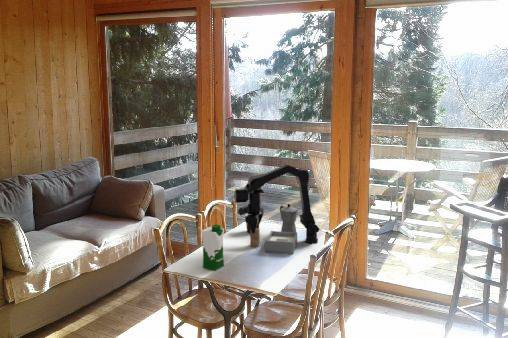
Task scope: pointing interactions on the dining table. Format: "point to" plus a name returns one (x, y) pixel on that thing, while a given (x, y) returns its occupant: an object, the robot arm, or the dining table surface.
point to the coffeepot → (288, 218)
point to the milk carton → (213, 247)
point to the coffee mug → (248, 224)
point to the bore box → (281, 242)
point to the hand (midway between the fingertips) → (255, 230)
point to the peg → (255, 238)
